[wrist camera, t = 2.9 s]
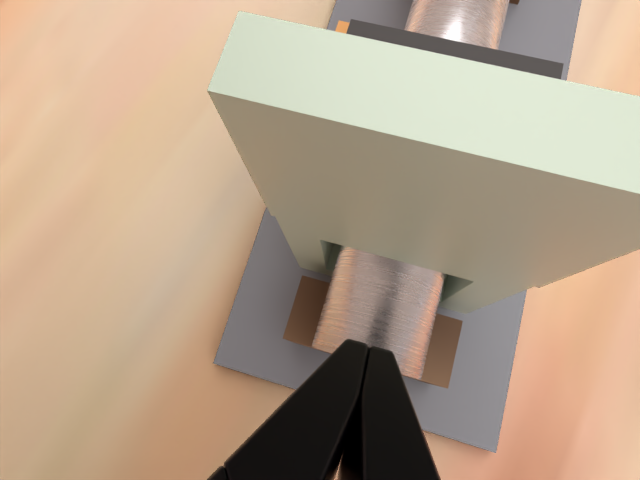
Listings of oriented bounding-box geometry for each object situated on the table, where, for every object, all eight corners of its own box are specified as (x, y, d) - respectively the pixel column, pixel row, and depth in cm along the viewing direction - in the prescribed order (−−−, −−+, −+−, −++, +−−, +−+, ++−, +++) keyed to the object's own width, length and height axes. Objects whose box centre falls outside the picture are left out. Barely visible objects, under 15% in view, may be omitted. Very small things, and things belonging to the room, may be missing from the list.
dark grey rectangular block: (488, 188, 16) (555, 106, 11) (340, 151, 17) (338, 58, 12) (494, 158, 17) (563, 63, 11) (349, 123, 17) (350, 18, 12)
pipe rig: (490, 449, 16) (577, 502, 10) (217, 363, 17) (149, 363, 11) (583, -38, 21) (679, -199, 15) (366, -78, 22) (374, -241, 16)
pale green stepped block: (468, 314, 15) (728, 214, 5) (297, 266, 16) (206, 90, 6) (492, 205, 16) (752, -75, 6) (329, 164, 17) (302, -150, 7)
